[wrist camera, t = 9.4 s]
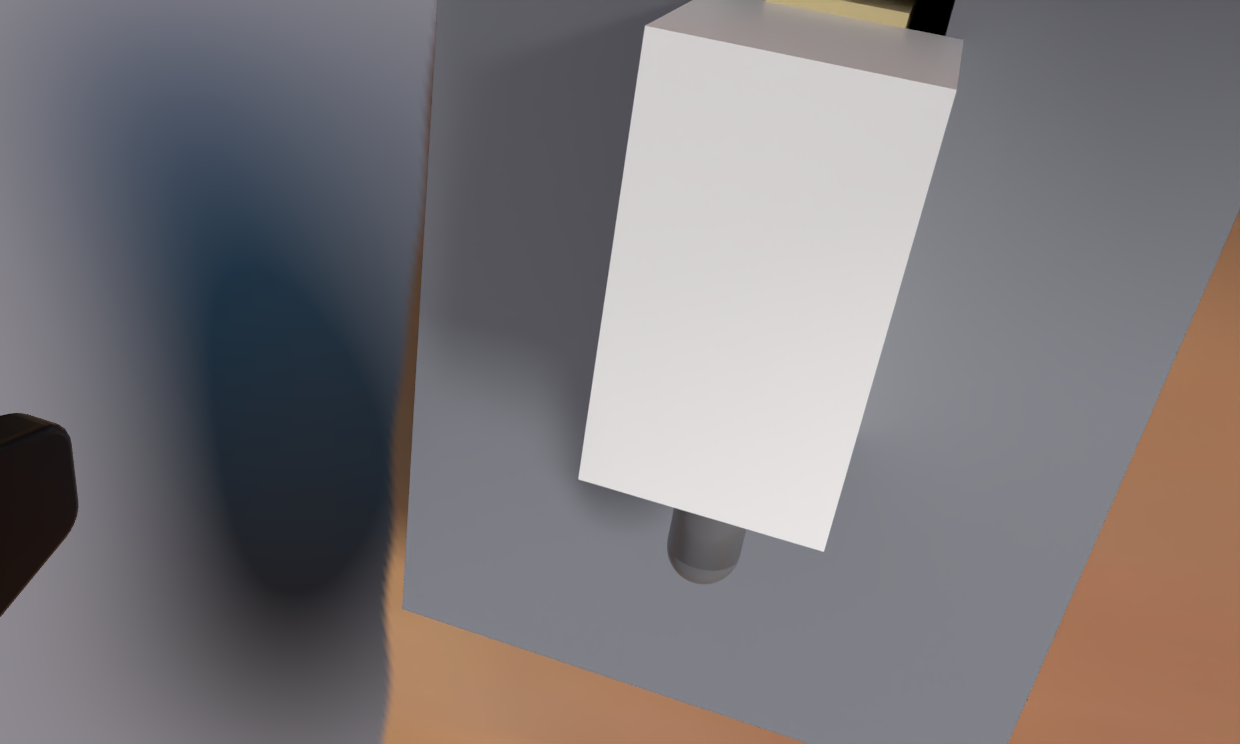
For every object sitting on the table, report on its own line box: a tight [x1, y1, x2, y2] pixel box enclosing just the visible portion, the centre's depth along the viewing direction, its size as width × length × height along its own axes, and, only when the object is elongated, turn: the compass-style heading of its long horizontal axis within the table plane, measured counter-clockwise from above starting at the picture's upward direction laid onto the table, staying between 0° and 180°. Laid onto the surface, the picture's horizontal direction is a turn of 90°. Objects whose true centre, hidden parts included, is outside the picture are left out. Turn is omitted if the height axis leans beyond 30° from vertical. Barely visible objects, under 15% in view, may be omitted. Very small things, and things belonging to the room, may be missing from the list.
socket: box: [402, 0, 1240, 744], centre depth 18 cm, size 12×20×3 cm, turn 172°
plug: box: [578, 0, 963, 584], centre depth 17 cm, size 4×9×6 cm, turn 171°
